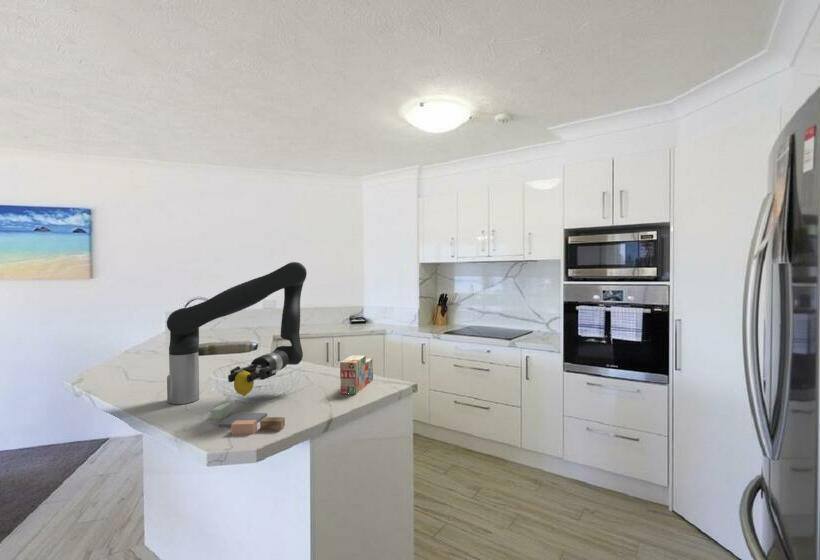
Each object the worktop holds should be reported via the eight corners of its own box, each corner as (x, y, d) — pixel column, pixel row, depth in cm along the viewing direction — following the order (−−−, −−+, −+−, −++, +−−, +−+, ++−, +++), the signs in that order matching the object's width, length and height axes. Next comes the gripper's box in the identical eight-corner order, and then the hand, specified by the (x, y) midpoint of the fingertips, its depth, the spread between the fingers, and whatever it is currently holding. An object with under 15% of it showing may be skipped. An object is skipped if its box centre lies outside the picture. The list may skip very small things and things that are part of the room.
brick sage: (221, 419, 122) (221, 409, 122) (212, 419, 122) (211, 409, 122) (230, 412, 128) (230, 403, 128) (221, 412, 128) (221, 403, 128)
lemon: (257, 394, 121) (256, 369, 121) (242, 400, 116) (241, 373, 116) (246, 392, 124) (245, 367, 123) (230, 397, 119) (229, 371, 119)
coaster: (218, 426, 115) (218, 423, 115) (238, 414, 125) (237, 412, 125) (250, 427, 114) (250, 425, 114) (267, 415, 124) (267, 413, 124)
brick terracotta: (231, 435, 109) (231, 424, 109) (236, 430, 112) (235, 420, 112) (253, 434, 110) (252, 423, 110) (257, 430, 113) (256, 419, 113)
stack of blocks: (359, 379, 167) (358, 350, 167) (373, 380, 166) (372, 351, 166) (340, 394, 146) (339, 361, 146) (356, 395, 145) (355, 361, 145)
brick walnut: (260, 431, 112) (260, 421, 112) (264, 427, 115) (264, 417, 115) (281, 431, 111) (281, 421, 111) (284, 427, 114) (284, 417, 114)
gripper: (247, 354, 135) (216, 366, 118) (286, 354, 133) (260, 366, 116) (247, 376, 135) (217, 391, 118) (287, 376, 133) (261, 391, 116)
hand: (239, 378), depth 117 cm, fingers closed on lemon, 5 cm apart
